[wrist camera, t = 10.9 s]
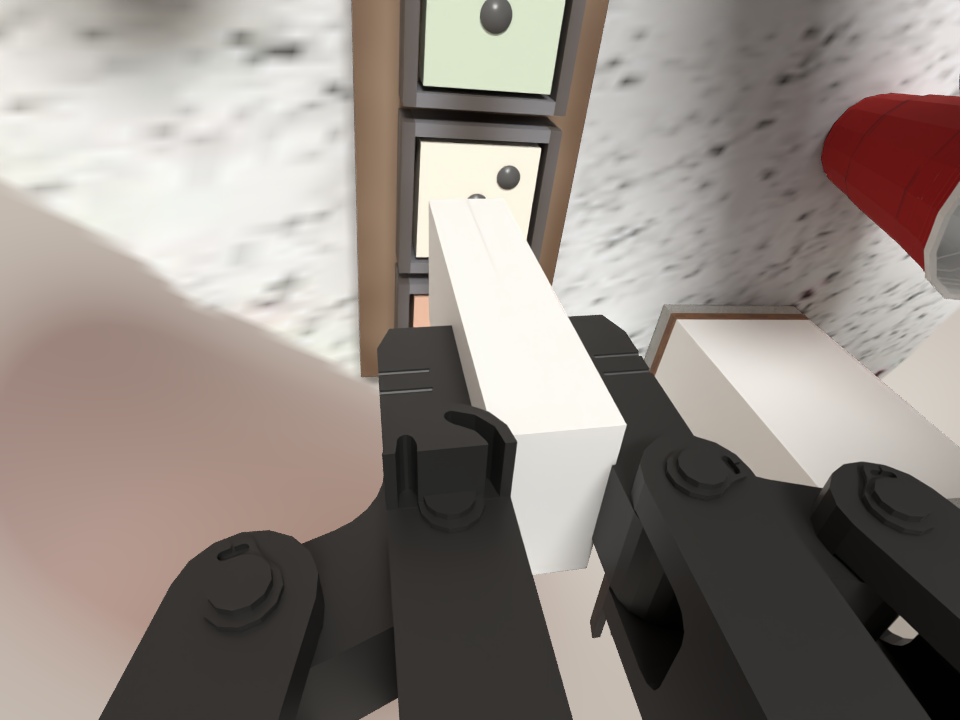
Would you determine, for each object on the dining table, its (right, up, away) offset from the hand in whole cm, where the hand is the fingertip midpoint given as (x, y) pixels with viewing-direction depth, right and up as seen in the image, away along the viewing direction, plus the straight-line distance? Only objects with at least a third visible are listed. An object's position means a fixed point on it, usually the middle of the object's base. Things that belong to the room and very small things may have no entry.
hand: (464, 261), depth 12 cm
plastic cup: (+26, +13, +26) cm, 39 cm away
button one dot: (+1, +14, +14) cm, 20 cm away
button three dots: (0, +7, +19) cm, 21 cm away
